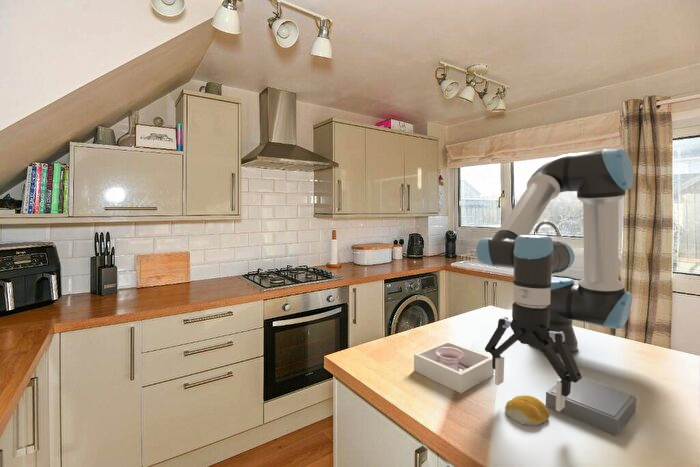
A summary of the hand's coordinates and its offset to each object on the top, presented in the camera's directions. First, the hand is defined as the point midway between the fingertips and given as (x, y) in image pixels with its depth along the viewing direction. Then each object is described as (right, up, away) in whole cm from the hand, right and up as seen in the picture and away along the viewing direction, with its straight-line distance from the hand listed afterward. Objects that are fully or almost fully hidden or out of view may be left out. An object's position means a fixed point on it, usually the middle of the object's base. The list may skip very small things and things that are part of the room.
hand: (527, 395), depth 78 cm
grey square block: (+16, -5, +3) cm, 17 cm away
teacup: (-12, -4, +21) cm, 25 cm away
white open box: (-11, -3, +21) cm, 24 cm away
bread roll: (0, -5, +1) cm, 5 cm away
